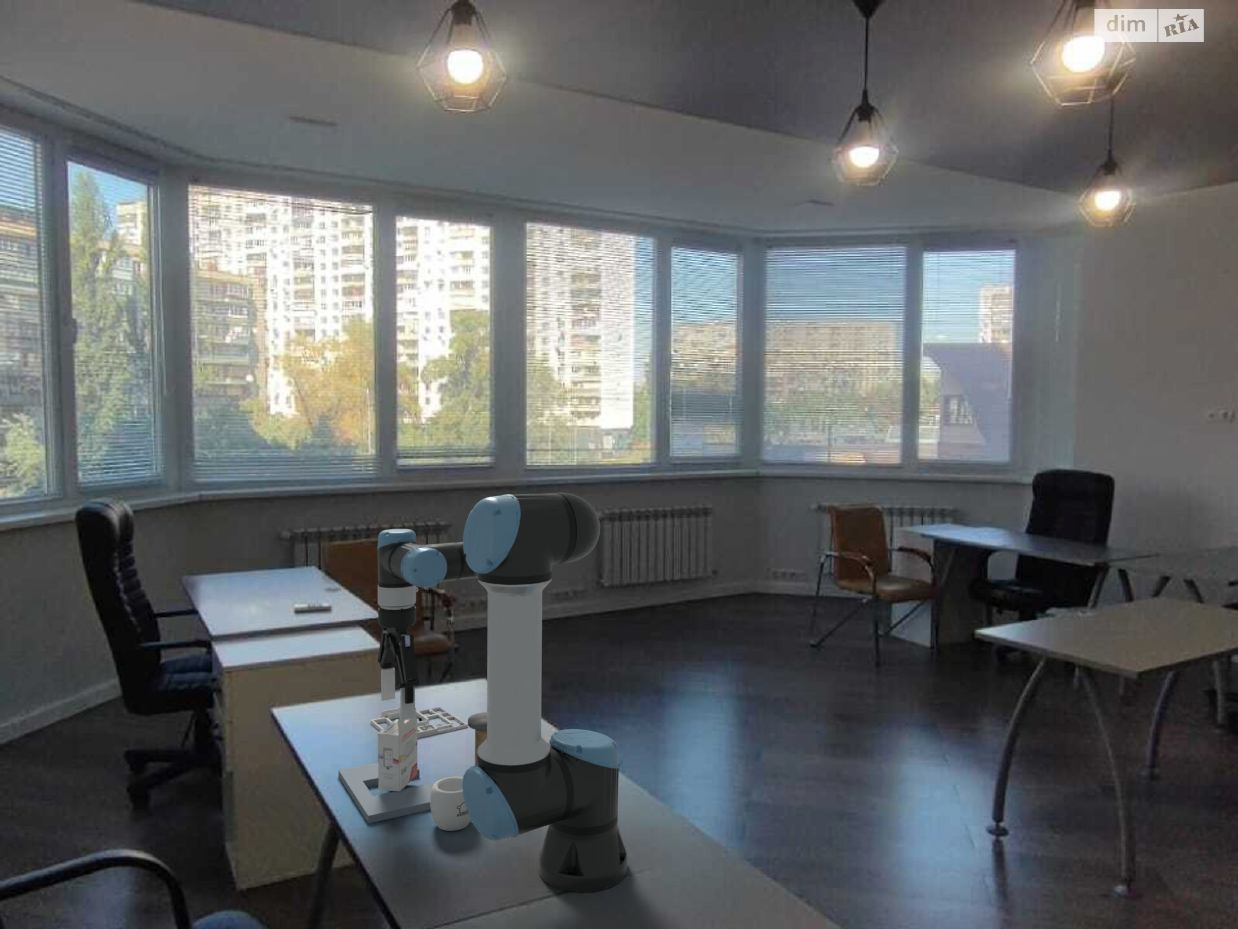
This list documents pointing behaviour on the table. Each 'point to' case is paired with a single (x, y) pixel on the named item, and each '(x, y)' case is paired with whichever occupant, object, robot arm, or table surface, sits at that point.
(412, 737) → the ink cartridge box
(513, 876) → the table surface
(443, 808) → the mug
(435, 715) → the floor plan model
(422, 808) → the notched board
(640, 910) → the table surface
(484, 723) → the bobbin post
